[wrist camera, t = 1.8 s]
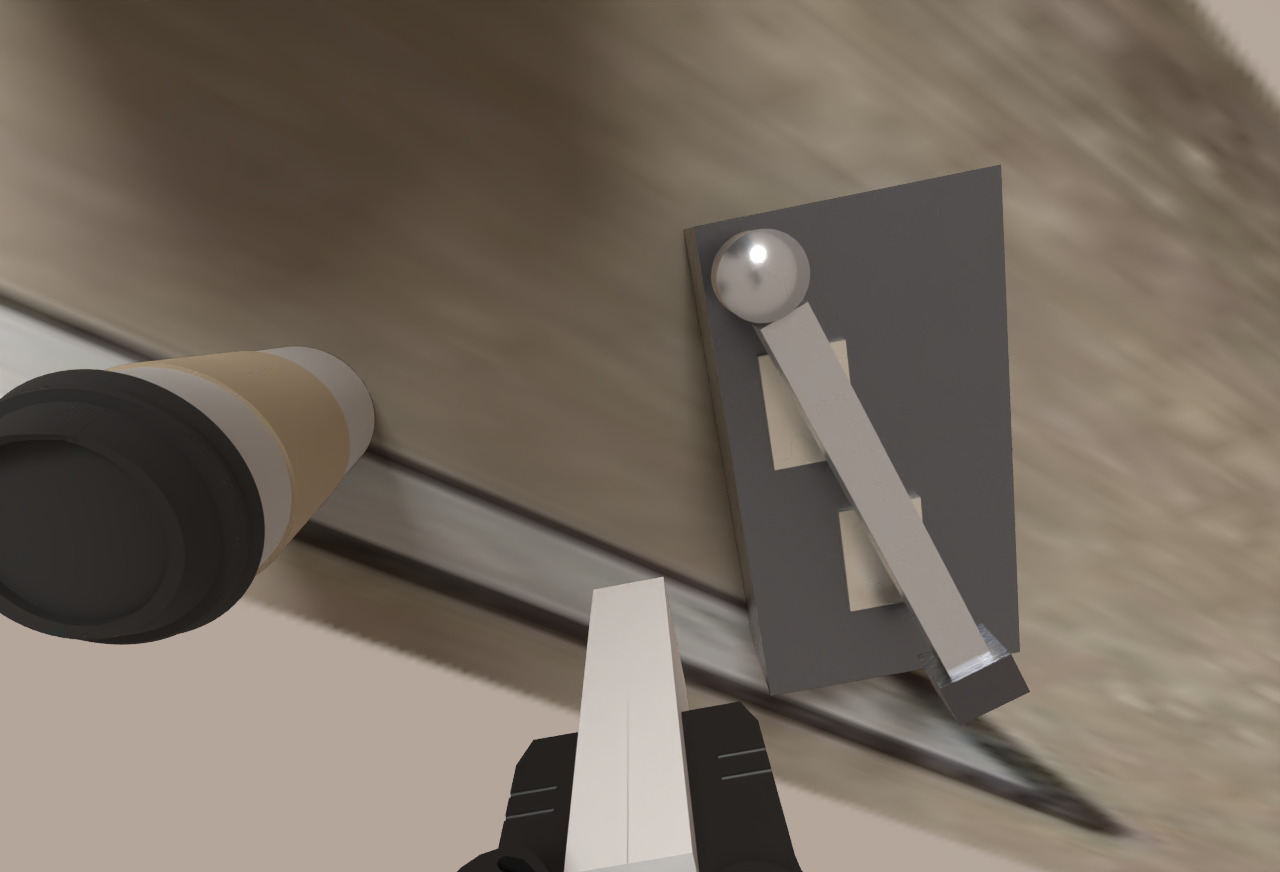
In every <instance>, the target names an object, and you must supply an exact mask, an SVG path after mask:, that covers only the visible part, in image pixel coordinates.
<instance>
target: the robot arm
mask: <svg viewBox="0 0 1280 872" xmlns="http://www.w3.org/2000/svg"><path fill="white" fill-rule="evenodd" d="M457 872H802V870H801V868H800V866H799V864H798V862H797V859H796V857H795V854H794V850H793V847H792V843H791V839H790V836H789V832H788V828H787V825H786V821H785V817H784V814H783V810H782V807H781V803H780V799H779V796H778V792H777V788H776V785H775V781H774V777H773V774H772V771H771V766H770V763H769V759H768V755H767V752H766V749H765V744H764V741H763V737H762V733H761V730H760V726H759V722H758V720H757V719H756V718H755V717H754V716H753V715H752V714H751V713H750V712H749V711H748V710H747V709H746V708H745V706H744V705H743V704H742V703H741V702H735V703H729V704H723V705H718V706H712V707H706V708H701V709H695V710H689V707H688V699H687V692H686V685H685V680H684V675H683V670H682V665H681V660H680V656H679V651H678V646H677V641H676V636H675V631H674V626H673V621H672V617H671V612H670V607H669V602H668V597H667V592H666V587H665V582H664V578H663V577H660V578H654V579H649V580H643V581H638V582H632V583H627V584H622V585H616V586H611V587H605V588H600V589H594V590H593V596H592V606H591V615H590V625H589V635H588V644H587V654H586V664H585V673H584V683H583V692H582V702H581V712H580V721H579V731H578V732H576V733H571V734H565V735H559V736H554V737H548V738H542V739H537V740H533V742H532V743H531V744H530V746H529V747H528V749H527V750H526V752H525V753H524V755H523V756H522V758H521V759H520V761H519V762H518V764H517V765H516V769H515V774H514V778H513V783H512V788H511V798H509V802H508V806H507V810H506V821H504V824H503V829H502V834H501V838H500V843H499V848H498V849H496V850H493V851H490V852H487V853H484V854H481V855H479V856H478V857H476V858H475V859H473V860H472V861H470V862H469V863H467V864H466V865H464V866H463V867H461V868H460V869H459V870H458V871H457Z"/></svg>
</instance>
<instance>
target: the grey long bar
mask: <svg viewBox="0 0 1280 872" xmlns="http://www.w3.org/2000/svg"><path fill="white" fill-rule="evenodd" d="M809 281H810V266H809V261H808V258H807V256H806V253H805V251H804V250H803V248H802V246H801V245H800V244H799V243H798V242H797V241H796V240H795V239H794V238H793V237H791V236H790V235H788V234H786V233H784V232H782V231H779V230H774V229H758V230H750V231H745V232H741V233H739V234H737V235H735V236H733V237H731V238H730V239H729V240H727V241H726V242H725V243H724V244H723V245H722V247H721V248H720V249H719V251H718V252H717V254H716V256H715V258H714V261H713V264H712V269H711V282H712V287H713V290H714V293H715V295H716V297H717V298H718V300H719V301H720V302H721V304H722V305H723V306H724V307H725V308H727V309H728V310H729V311H731V312H733V313H734V314H736V315H737V316H739V317H740V318H742V319H744V320H747V321H750V322H754V324H752V326H753V327H754V329H755V331H756V333H757V335H758V337H759V338H760V340H761V342H762V344H763V346H764V348H765V349H766V351H767V353H768V355H769V357H770V358H771V360H772V362H773V364H774V366H775V368H776V369H777V371H778V373H779V375H780V377H781V378H782V380H783V382H784V384H785V386H786V388H787V389H788V391H789V393H790V395H791V397H792V398H793V400H794V402H795V404H796V406H797V408H798V409H799V411H800V413H801V415H802V417H803V419H804V420H805V422H806V424H807V426H808V428H809V429H810V431H811V433H812V435H813V437H814V439H815V440H816V442H817V444H818V446H819V448H820V449H821V451H822V453H823V455H824V457H825V459H826V460H827V462H828V464H829V466H830V468H831V469H832V471H833V473H834V475H835V477H836V479H837V480H838V482H839V484H840V486H841V488H842V490H843V491H844V493H845V495H846V497H847V499H848V500H849V502H850V504H851V506H852V508H853V510H854V511H855V513H856V515H857V517H858V519H859V520H860V522H861V524H862V526H863V528H864V530H865V531H866V533H867V535H868V537H869V539H870V540H871V542H872V544H873V546H874V548H875V550H876V551H877V553H878V555H879V557H880V559H881V561H882V562H883V564H884V566H885V568H886V570H887V571H888V573H889V575H890V577H891V579H892V581H893V582H894V584H895V586H896V588H897V590H898V591H899V593H900V595H901V597H902V599H903V601H904V602H905V604H906V606H907V608H908V610H909V612H910V613H911V615H912V617H913V619H914V621H915V622H916V624H917V626H918V628H919V630H920V632H921V633H922V635H923V637H924V639H925V641H926V642H927V644H928V646H929V648H930V649H929V650H927V651H925V652H923V653H921V654H919V655H917V657H918V659H919V661H920V663H921V665H922V666H923V668H924V670H925V672H926V674H927V675H928V677H929V679H930V681H931V683H932V684H933V686H934V688H935V690H936V691H937V693H938V694H939V696H940V697H941V698H942V700H943V701H944V703H945V704H946V706H947V707H948V709H949V710H950V711H951V713H952V714H953V716H954V717H955V719H956V720H957V722H958V723H959V724H960V725H962V724H964V723H966V722H968V721H971V720H973V719H975V718H977V717H979V716H981V715H983V714H985V713H987V712H989V711H991V710H993V709H995V708H997V707H1000V706H1002V705H1004V704H1006V703H1008V702H1010V701H1012V700H1014V699H1016V698H1018V697H1020V696H1022V695H1024V694H1027V693H1029V692H1030V691H1029V689H1028V687H1027V685H1026V683H1025V681H1024V679H1023V677H1022V675H1021V673H1020V671H1019V669H1018V667H1017V665H1016V663H1015V661H1014V659H1013V657H1012V655H1011V654H1010V653H1009V652H1008V651H1007V650H1006V648H1005V647H1004V646H1003V645H1002V644H1001V643H1000V642H999V641H998V640H997V639H996V638H995V637H994V636H993V635H992V634H991V632H990V631H989V630H988V629H987V628H986V627H985V626H984V625H983V624H982V623H981V624H979V625H977V626H976V624H975V622H974V620H973V618H972V616H971V614H970V613H969V611H968V609H967V607H966V605H965V603H964V601H963V599H962V597H961V595H960V593H959V591H958V589H957V588H956V586H955V584H954V582H953V580H952V578H951V576H950V574H949V572H948V570H947V568H946V566H945V564H944V563H943V561H942V559H941V557H940V555H939V553H938V551H937V549H936V547H935V545H934V543H933V541H932V539H931V538H930V536H929V534H928V532H927V530H926V528H925V526H924V524H923V522H922V520H921V518H920V516H919V514H918V513H917V511H916V509H915V507H914V505H913V503H912V501H911V499H910V497H909V495H908V493H907V491H906V489H905V488H904V486H903V484H902V482H901V480H900V478H899V476H898V474H897V472H896V470H895V468H894V466H893V464H892V463H891V461H890V459H889V457H888V455H887V453H886V451H885V449H884V447H883V445H882V443H881V441H880V439H879V438H878V436H877V434H876V432H875V430H874V428H873V426H872V424H871V422H870V420H869V418H868V416H867V414H866V413H865V411H864V409H863V407H862V405H861V403H860V401H859V399H858V397H857V395H856V393H855V391H854V389H853V387H852V386H851V384H850V382H849V380H848V378H847V376H846V374H845V372H844V370H843V368H842V366H841V364H840V362H839V361H838V359H837V357H836V355H835V353H834V351H833V349H832V347H831V345H830V343H829V341H828V339H827V337H826V336H825V334H824V332H823V330H822V328H821V326H820V324H819V322H818V320H817V318H816V316H815V314H814V312H813V311H812V309H811V307H810V305H809V303H808V302H807V301H803V298H804V296H805V294H806V292H807V289H808V286H809Z"/></svg>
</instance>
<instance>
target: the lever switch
mask: <svg viewBox="0 0 1280 872" xmlns="http://www.w3.org/2000/svg"><path fill="white" fill-rule="evenodd" d="M758 229H774V230H779V231H782V232H784V233H786V234H788V235H790V236H791V237H793V238H794V239H795V240H796V241H797V242H798V243H799V244H800V245H801V246H802V248H803V250H804V251H805V253H806V256H807V258H808V261H809V266H810V281H809V286H808V289H807V292H806V294H805V296H804V298H803V301H807V302H808V303H809V305H810V307H811V309H812V311H813V312H814V314H815V316H816V318H817V320H818V322H819V324H820V326H821V328H822V330H823V332H824V334H825V336H826V337H827V339H828V341H829V343H830V345H831V347H832V349H833V351H834V353H835V355H836V357H837V359H838V361H839V362H840V364H841V366H842V368H843V370H844V372H845V374H846V376H847V378H848V380H849V382H850V384H851V386H852V387H853V389H854V391H855V393H856V395H857V397H858V399H859V401H860V403H861V405H862V407H863V409H864V411H865V413H866V414H867V416H868V418H869V420H870V422H871V424H872V426H873V428H874V430H875V432H876V434H877V436H878V438H879V439H880V441H881V443H882V445H883V447H884V449H885V451H886V453H887V455H888V457H889V459H890V461H891V463H892V464H893V466H894V468H895V470H896V472H897V474H898V476H899V478H900V480H901V482H902V484H903V486H904V488H905V489H906V491H907V493H908V495H909V497H910V499H911V501H912V503H913V505H914V507H915V509H916V511H917V513H918V514H919V516H920V518H921V520H922V522H923V524H924V526H925V528H926V530H927V532H928V534H929V536H930V538H931V539H932V541H933V543H934V545H935V547H936V549H937V551H938V553H939V555H940V557H941V559H942V561H943V563H944V564H945V566H946V568H947V570H948V572H949V574H950V576H951V578H952V580H953V582H954V584H955V586H956V588H957V589H958V591H959V593H960V595H961V597H962V599H963V601H964V603H965V605H966V607H967V609H968V611H969V613H970V614H971V616H972V618H973V620H974V622H975V624H976V626H977V625H979V624H981V623H982V624H983V625H984V626H985V627H986V628H987V629H988V630H989V631H990V632H991V634H992V635H993V636H994V637H995V638H996V639H997V640H998V641H999V642H1000V643H1001V644H1002V645H1003V646H1004V647H1005V648H1006V650H1007V651H1008V652H1009V653H1010V654H1011V653H1016V652H1020V643H1019V617H1018V592H1017V566H1016V540H1015V514H1014V488H1013V463H1012V437H1011V411H1010V385H1009V360H1008V334H1007V308H1006V282H1005V257H1004V231H1003V205H1002V179H1001V165H997V166H992V167H987V168H982V169H977V170H972V171H967V172H962V173H957V174H952V175H948V176H943V177H938V178H933V179H928V180H923V181H918V182H913V183H908V184H903V185H898V186H893V187H889V188H884V189H879V190H874V191H869V192H864V193H859V194H854V195H849V196H844V197H839V198H834V199H829V200H825V201H820V202H815V203H810V204H805V205H800V206H795V207H790V208H785V209H780V210H775V211H770V212H765V213H761V214H756V215H751V216H746V217H741V218H736V219H731V220H726V221H721V222H716V223H711V224H706V225H701V226H697V227H692V228H689V229H685V230H684V235H685V241H686V247H687V253H688V259H689V265H690V271H691V277H692V283H693V288H694V294H695V300H696V306H697V312H698V318H699V324H700V330H701V336H702V342H703V348H704V354H705V360H706V366H707V372H708V378H709V384H710V389H711V395H712V401H713V407H714V413H715V419H716V425H717V431H718V437H719V443H720V449H721V455H722V461H723V467H724V473H725V479H726V485H727V490H728V496H729V502H730V508H731V514H732V520H733V526H734V532H735V538H736V544H737V550H738V556H739V562H740V568H741V574H742V580H743V586H744V591H745V597H746V603H747V609H748V615H749V621H750V627H751V633H752V638H753V641H754V644H755V647H756V651H757V654H758V657H759V660H760V663H761V666H762V670H763V673H764V676H765V679H766V682H767V685H768V688H769V692H770V695H771V696H772V695H778V694H784V693H789V692H795V691H801V690H806V689H812V688H818V687H823V686H829V685H835V684H840V683H846V682H852V681H858V680H863V679H869V678H875V677H880V676H886V675H892V674H897V673H903V672H909V671H914V670H920V669H924V668H923V666H922V665H921V663H920V661H919V659H918V657H917V655H919V654H921V653H923V652H925V651H927V650H929V649H930V648H929V646H928V644H927V642H926V641H925V639H924V637H923V635H922V633H921V632H920V630H919V628H918V626H917V624H916V622H915V621H914V619H913V617H912V615H911V613H910V612H909V610H908V608H907V606H906V604H905V602H904V601H903V599H902V597H901V595H900V593H899V591H898V590H897V588H896V586H895V584H894V582H893V581H892V579H891V577H890V575H889V573H888V571H887V570H886V568H885V566H884V564H883V562H882V561H881V559H880V557H879V555H878V553H877V551H876V550H875V548H874V546H873V544H872V542H871V540H870V539H869V537H868V535H867V533H866V531H865V530H864V528H863V526H862V524H861V522H860V520H859V519H858V517H857V515H856V513H855V511H854V510H853V508H852V506H851V504H850V502H849V500H848V499H847V497H846V495H845V493H844V491H843V490H842V488H841V486H840V484H839V482H838V480H837V479H836V477H835V475H834V473H833V471H832V469H831V468H830V466H829V464H828V462H827V460H826V459H825V457H824V455H823V453H822V451H821V449H820V448H819V446H818V444H817V442H816V440H815V439H814V437H813V435H812V433H811V431H810V429H809V428H808V426H807V424H806V422H805V420H804V419H803V417H802V415H801V413H800V411H799V409H798V408H797V406H796V404H795V402H794V400H793V398H792V397H791V395H790V393H789V391H788V389H787V388H786V386H785V384H784V382H783V380H782V378H781V377H780V375H779V373H778V371H777V369H776V368H775V366H774V364H773V362H772V360H771V358H770V357H769V355H768V353H767V351H766V349H765V348H764V346H763V344H762V342H761V340H760V338H759V337H758V335H757V333H756V331H755V329H754V327H753V326H752V324H754V322H750V321H747V320H744V319H742V318H740V317H739V316H737V315H736V314H734V313H733V312H731V311H729V310H728V309H727V308H725V307H724V306H723V305H722V304H721V302H720V301H719V300H718V298H717V297H716V295H715V293H714V290H713V287H712V282H711V269H712V264H713V261H714V258H715V256H716V254H717V252H718V251H719V249H720V248H721V247H722V245H723V244H724V243H725V242H726V241H727V240H729V239H730V238H731V237H733V236H735V235H737V234H739V233H741V232H745V231H750V230H758Z"/></svg>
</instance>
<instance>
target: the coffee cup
mask: <svg viewBox="0 0 1280 872" xmlns="http://www.w3.org/2000/svg"><path fill="white" fill-rule="evenodd" d="M374 423H375V416H374V408H373V404H372V400H371V397H370V395H369V393H368V390H367V389H366V387H365V385H364V383H363V382H362V380H361V379H360V378H359V377H358V375H357V374H356V373H355V372H354V371H353V370H352V369H351V368H350V367H349V366H348V365H346V364H345V363H344V362H342V361H341V360H340V359H338V358H336V357H334V356H333V355H331V354H329V353H326V352H324V351H321V350H318V349H314V348H309V347H301V346H291V347H282V348H275V349H268V350H261V351H236V352H227V353H218V354H210V355H201V356H192V357H183V358H175V359H166V360H157V361H148V362H140V363H131V364H125V365H120V366H116V367H112V368H109V369H106V370H92V369H79V370H67V371H60V372H55V373H50V374H46V375H43V376H40V377H37V378H34V379H32V380H30V381H27V382H25V383H23V384H21V385H19V386H18V387H16V388H14V389H13V390H11V391H10V392H9V393H7V394H6V395H4V396H3V397H2V398H1V399H0V613H1V614H3V615H4V616H6V617H8V618H9V619H11V620H13V621H15V622H17V623H19V624H21V625H23V626H25V627H28V628H30V629H33V630H36V631H38V632H42V633H45V634H49V635H52V636H58V637H62V638H70V639H78V640H84V641H89V642H95V643H104V644H140V643H147V642H153V641H157V640H161V639H165V638H168V637H171V636H174V635H176V634H180V633H184V632H187V631H190V630H194V629H196V628H198V627H201V626H203V625H206V624H208V623H209V622H211V621H213V620H215V619H216V618H218V617H220V616H221V615H222V614H224V613H225V612H226V611H228V610H229V609H230V608H231V607H232V606H233V605H235V604H236V602H237V601H238V600H239V599H240V598H241V597H242V596H243V594H244V593H245V592H246V590H247V589H248V588H249V586H250V584H251V583H252V581H253V579H254V577H255V575H257V574H258V573H260V572H261V571H262V570H264V569H265V568H266V567H267V566H268V565H269V564H270V563H271V562H272V561H273V560H274V559H275V558H276V557H277V556H278V555H279V553H280V552H281V551H282V550H283V549H284V548H285V547H286V545H287V544H288V543H289V542H290V541H291V540H292V539H293V537H294V536H295V535H296V534H297V533H298V532H299V531H300V529H301V528H302V527H303V526H304V525H305V524H306V523H307V521H308V520H309V519H310V518H311V517H312V516H313V515H314V513H315V512H316V511H317V510H318V509H319V508H320V507H321V505H322V504H323V503H324V502H325V501H326V500H327V499H328V497H329V496H330V495H331V494H332V493H333V492H334V490H335V489H336V488H337V486H338V485H339V483H340V482H341V480H342V478H343V476H344V475H345V474H346V473H347V472H348V470H349V469H350V468H351V467H352V466H353V465H354V464H355V463H356V462H357V461H358V460H359V458H360V457H361V456H362V455H363V454H364V452H365V451H366V449H367V448H368V446H369V444H370V441H371V439H372V435H373V431H374Z"/></svg>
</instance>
